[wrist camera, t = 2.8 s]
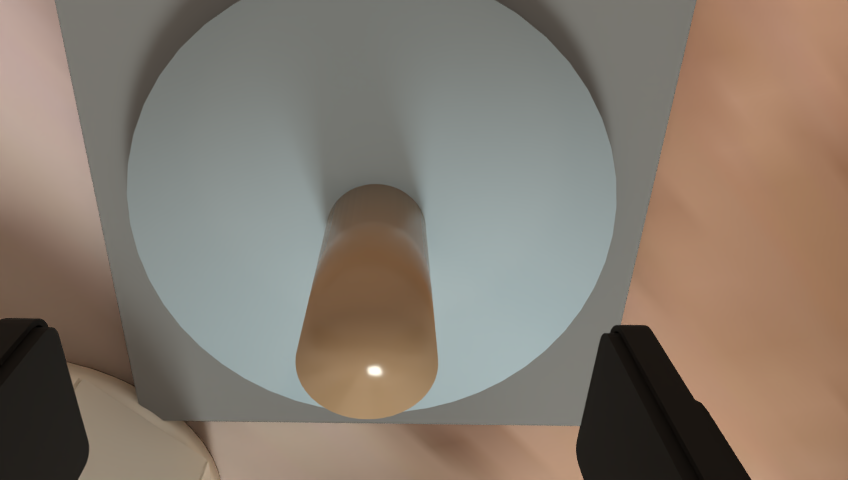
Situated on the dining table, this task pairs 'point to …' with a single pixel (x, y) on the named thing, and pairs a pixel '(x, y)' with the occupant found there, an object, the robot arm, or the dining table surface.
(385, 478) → the dining table surface
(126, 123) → the mat
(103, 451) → the bowl
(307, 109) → the lid
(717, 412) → the dining table surface
